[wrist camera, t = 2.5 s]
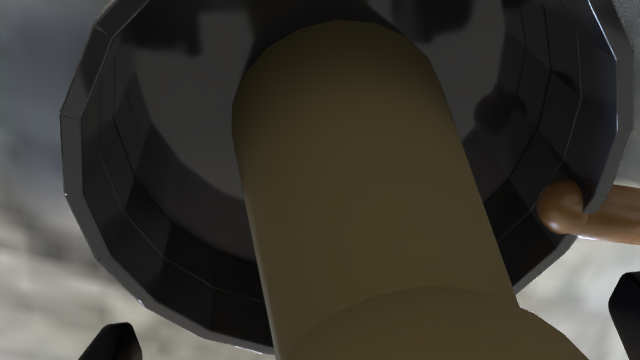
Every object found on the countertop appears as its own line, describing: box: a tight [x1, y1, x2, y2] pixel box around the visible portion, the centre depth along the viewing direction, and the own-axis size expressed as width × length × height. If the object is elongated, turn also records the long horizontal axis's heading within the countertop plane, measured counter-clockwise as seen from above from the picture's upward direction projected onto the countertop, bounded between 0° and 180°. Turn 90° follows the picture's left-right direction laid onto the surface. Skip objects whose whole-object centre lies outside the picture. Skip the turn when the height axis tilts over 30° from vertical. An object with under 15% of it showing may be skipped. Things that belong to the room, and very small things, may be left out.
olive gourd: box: [232, 20, 589, 360], centre depth 10 cm, size 6×6×11 cm
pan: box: [59, 0, 635, 355], centre depth 13 cm, size 13×13×4 cm
